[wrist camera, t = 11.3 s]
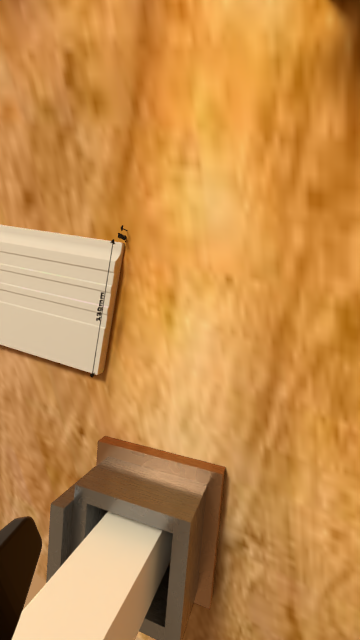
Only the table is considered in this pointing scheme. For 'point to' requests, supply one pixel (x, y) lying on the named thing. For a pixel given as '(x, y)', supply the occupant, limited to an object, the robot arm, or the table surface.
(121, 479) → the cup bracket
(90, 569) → the cream rectangular block
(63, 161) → the table surface
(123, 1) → the table surface
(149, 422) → the table surface
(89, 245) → the baseboard molding
